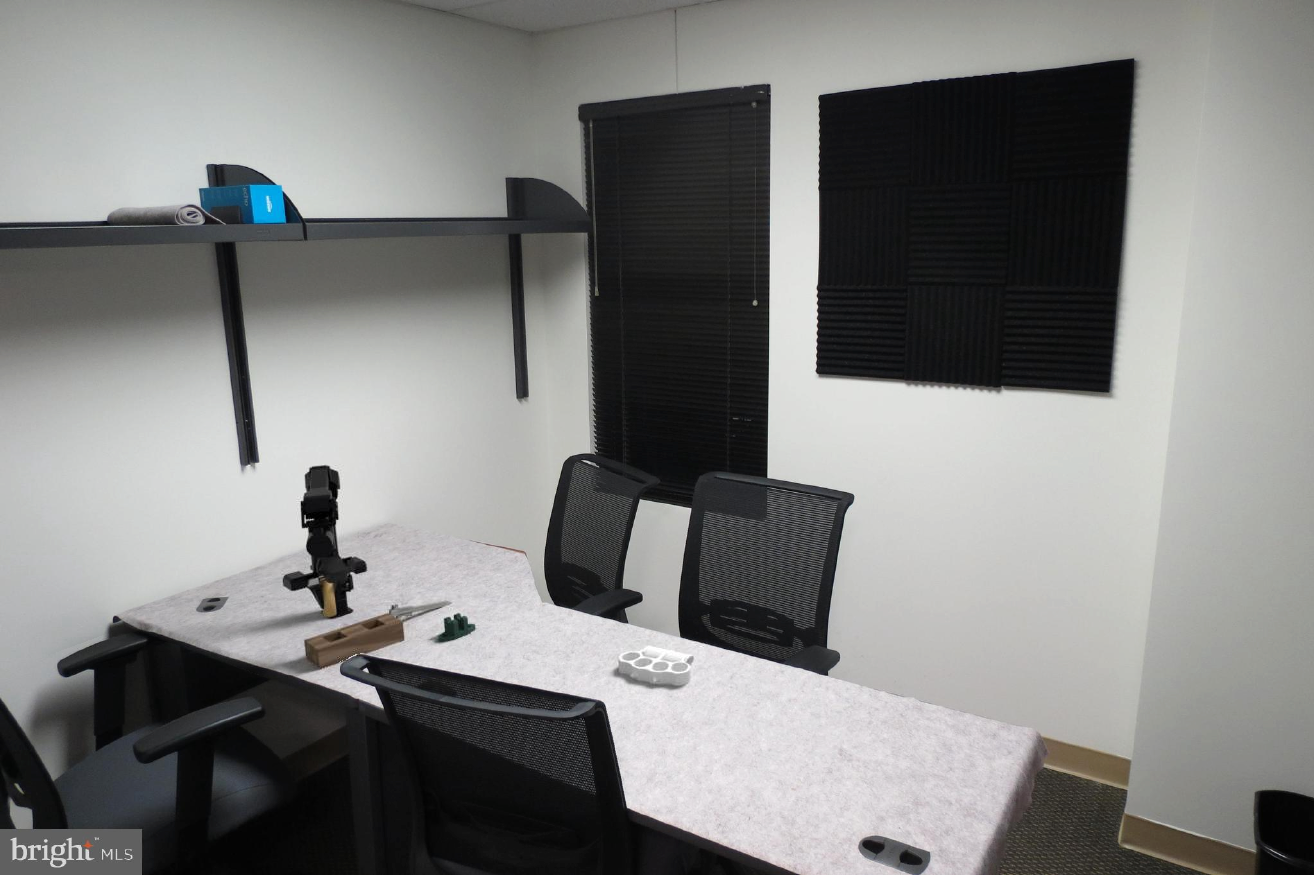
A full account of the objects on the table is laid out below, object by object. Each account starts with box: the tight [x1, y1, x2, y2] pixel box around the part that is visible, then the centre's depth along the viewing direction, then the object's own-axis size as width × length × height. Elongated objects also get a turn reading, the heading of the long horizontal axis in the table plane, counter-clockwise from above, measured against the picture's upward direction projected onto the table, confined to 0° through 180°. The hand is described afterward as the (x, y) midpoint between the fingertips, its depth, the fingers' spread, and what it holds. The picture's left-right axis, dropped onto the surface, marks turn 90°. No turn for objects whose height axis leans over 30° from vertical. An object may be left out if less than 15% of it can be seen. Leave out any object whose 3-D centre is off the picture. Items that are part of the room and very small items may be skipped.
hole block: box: [303, 612, 405, 670], centre depth 223 cm, size 8×22×5 cm, turn 134°
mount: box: [437, 612, 476, 643], centre depth 230 cm, size 11×4×5 cm, turn 137°
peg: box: [320, 578, 336, 618], centre depth 218 cm, size 3×3×9 cm
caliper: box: [388, 599, 453, 621], centre depth 243 cm, size 20×1×6 cm, turn 143°
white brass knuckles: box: [617, 645, 694, 687], centre depth 208 cm, size 3×18×15 cm
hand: (329, 606), depth 218 cm, fingers closed on peg, 3 cm apart
